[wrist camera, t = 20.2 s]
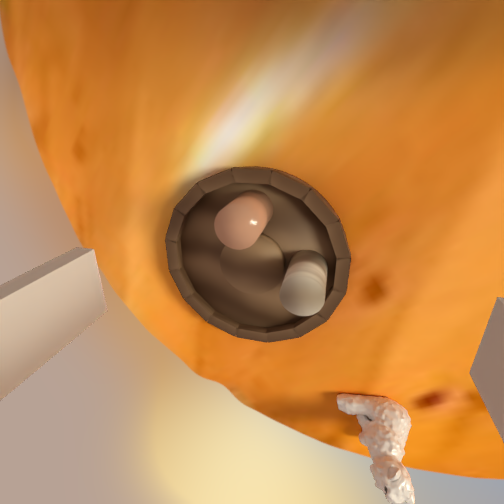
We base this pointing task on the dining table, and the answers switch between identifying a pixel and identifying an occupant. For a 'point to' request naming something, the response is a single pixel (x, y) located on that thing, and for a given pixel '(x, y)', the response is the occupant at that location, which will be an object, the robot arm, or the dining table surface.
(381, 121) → the dining table surface
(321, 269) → the cream bead
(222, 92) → the dining table surface
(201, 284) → the groove tray
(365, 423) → the seated beast figurine
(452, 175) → the dining table surface
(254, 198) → the pinkish brown egg
